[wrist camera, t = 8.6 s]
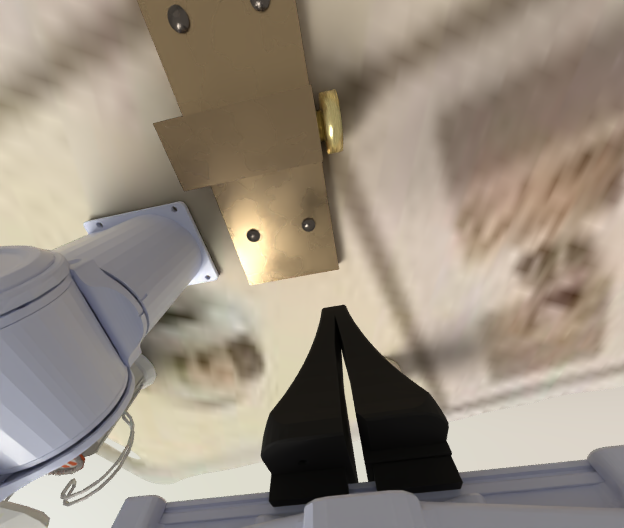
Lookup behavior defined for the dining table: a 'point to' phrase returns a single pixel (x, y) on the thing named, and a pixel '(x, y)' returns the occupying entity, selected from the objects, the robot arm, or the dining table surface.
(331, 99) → the pin
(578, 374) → the dining table surface
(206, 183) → the hinge
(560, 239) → the dining table surface
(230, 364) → the dining table surface
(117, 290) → the robot arm
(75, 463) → the french press
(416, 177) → the dining table surface
